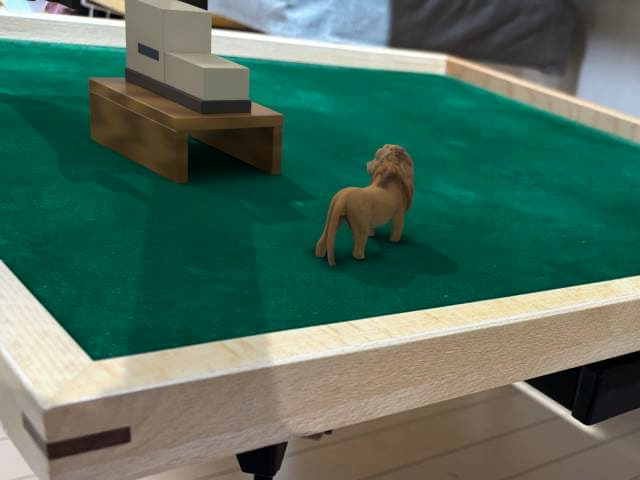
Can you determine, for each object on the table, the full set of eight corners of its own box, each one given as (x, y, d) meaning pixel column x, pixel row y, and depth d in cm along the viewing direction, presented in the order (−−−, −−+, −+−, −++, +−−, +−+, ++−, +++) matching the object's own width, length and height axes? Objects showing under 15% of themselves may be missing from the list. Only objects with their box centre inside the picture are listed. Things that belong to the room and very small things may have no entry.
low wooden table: (91, 149, 90) (87, 77, 87) (196, 144, 99) (196, 77, 96) (176, 195, 83) (176, 118, 80) (280, 184, 92) (284, 114, 89)
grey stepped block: (124, 79, 89) (122, -6, 85) (175, 80, 93) (174, -2, 89) (201, 114, 82) (202, 23, 79) (251, 112, 87) (254, 26, 83)
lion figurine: (365, 228, 85) (374, 134, 81) (417, 241, 85) (429, 148, 80) (301, 274, 72) (308, 165, 68) (362, 289, 72) (373, 181, 67)
